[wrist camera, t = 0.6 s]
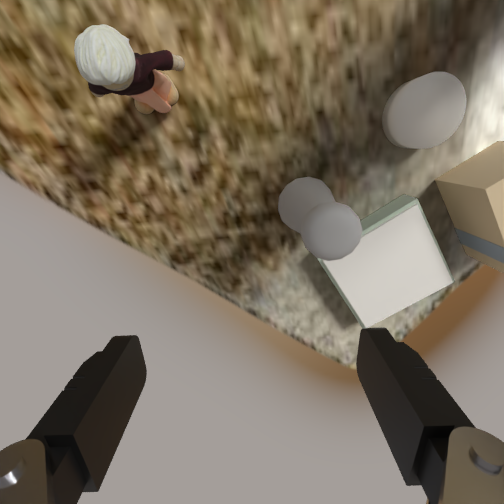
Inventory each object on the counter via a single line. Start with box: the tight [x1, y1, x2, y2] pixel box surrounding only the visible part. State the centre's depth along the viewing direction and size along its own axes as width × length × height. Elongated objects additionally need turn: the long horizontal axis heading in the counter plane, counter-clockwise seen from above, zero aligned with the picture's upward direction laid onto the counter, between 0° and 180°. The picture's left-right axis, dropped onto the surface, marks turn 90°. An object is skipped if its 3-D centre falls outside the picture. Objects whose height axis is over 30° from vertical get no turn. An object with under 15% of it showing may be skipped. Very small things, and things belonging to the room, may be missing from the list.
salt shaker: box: [278, 177, 363, 261], centre depth 25 cm, size 6×6×13 cm
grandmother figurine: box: [74, 25, 185, 114], centre depth 21 cm, size 8×4×13 cm, turn 117°
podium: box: [316, 194, 455, 328], centre depth 33 cm, size 12×12×3 cm
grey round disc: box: [382, 72, 466, 149], centre depth 27 cm, size 6×6×3 cm
